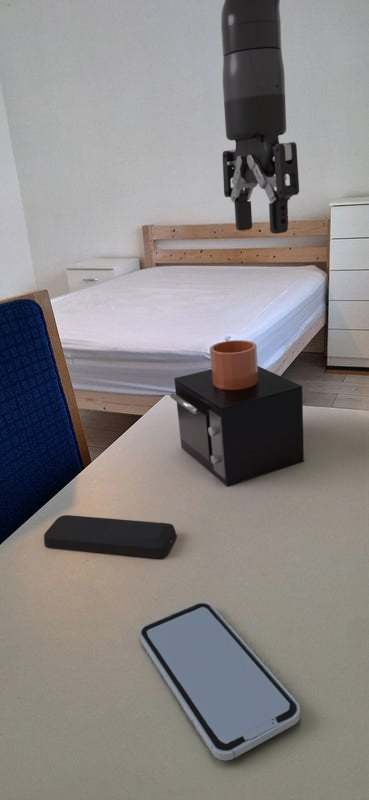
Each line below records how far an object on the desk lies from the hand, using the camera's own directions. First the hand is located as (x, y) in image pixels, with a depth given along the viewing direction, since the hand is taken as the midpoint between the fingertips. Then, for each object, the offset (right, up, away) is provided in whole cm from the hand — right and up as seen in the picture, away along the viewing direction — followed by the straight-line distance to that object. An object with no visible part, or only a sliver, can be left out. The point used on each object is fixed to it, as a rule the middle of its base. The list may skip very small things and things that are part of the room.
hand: (260, 231), depth 79 cm
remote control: (-19, -39, -11) cm, 44 cm away
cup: (-3, -20, +2) cm, 20 cm away
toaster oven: (-2, -30, +6) cm, 31 cm away
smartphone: (-8, -45, -31) cm, 55 cm away
